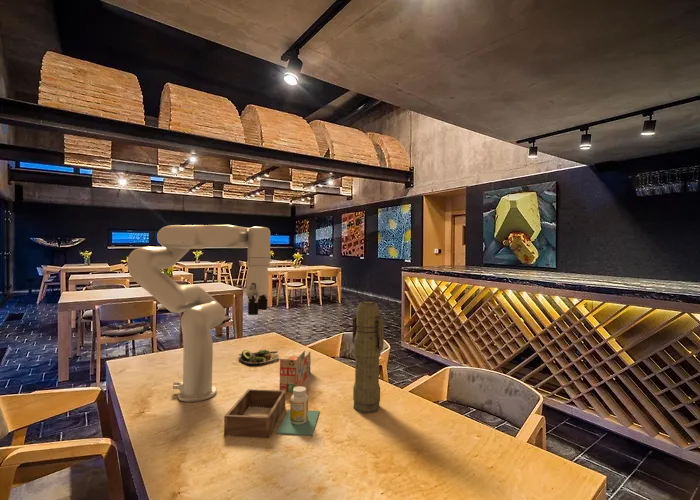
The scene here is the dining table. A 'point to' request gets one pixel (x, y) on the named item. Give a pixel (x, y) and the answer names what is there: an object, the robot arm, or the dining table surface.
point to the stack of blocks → (294, 369)
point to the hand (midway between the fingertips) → (257, 312)
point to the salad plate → (257, 357)
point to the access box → (254, 424)
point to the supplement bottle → (299, 406)
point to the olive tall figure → (367, 356)
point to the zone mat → (299, 429)
